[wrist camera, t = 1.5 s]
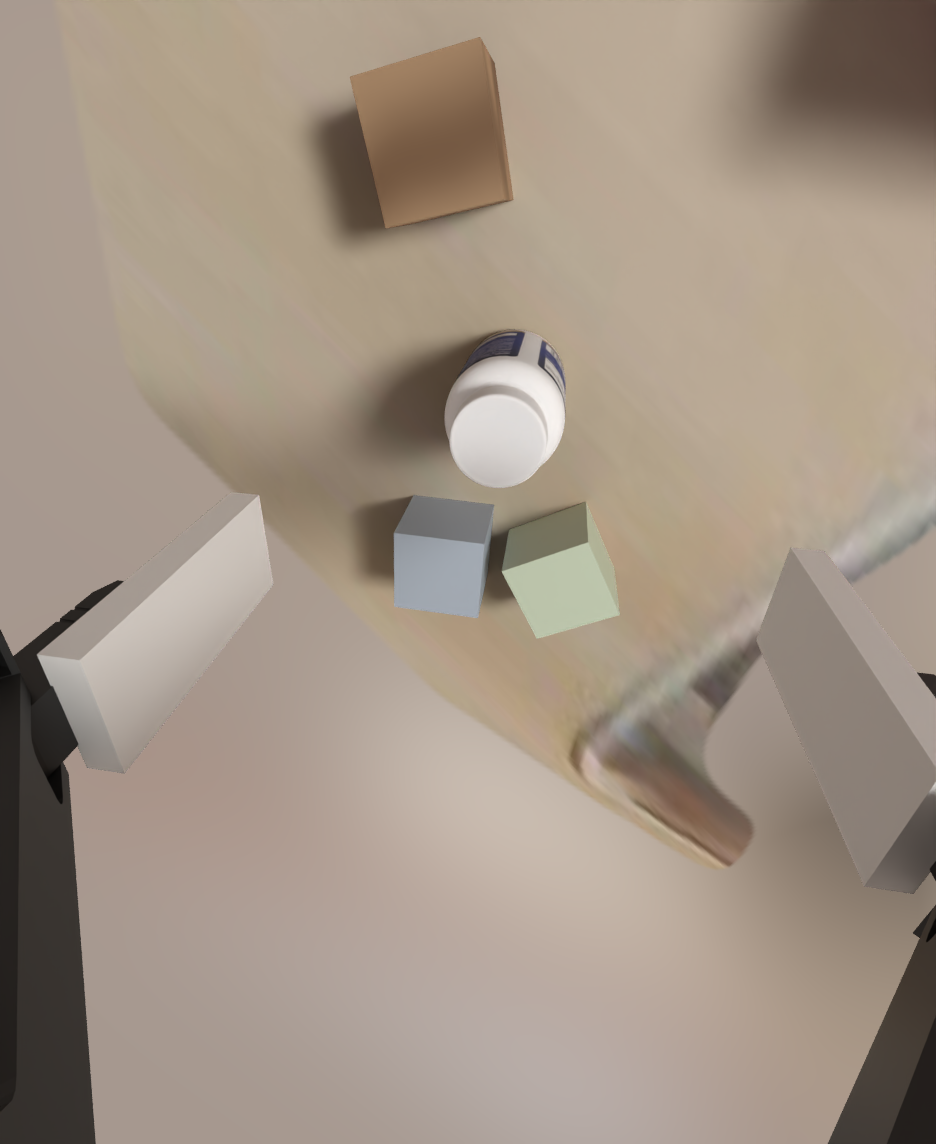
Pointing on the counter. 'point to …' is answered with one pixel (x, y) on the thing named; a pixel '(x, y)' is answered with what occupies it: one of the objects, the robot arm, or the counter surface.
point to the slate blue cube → (442, 555)
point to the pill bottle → (506, 409)
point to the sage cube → (561, 572)
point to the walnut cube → (434, 134)
